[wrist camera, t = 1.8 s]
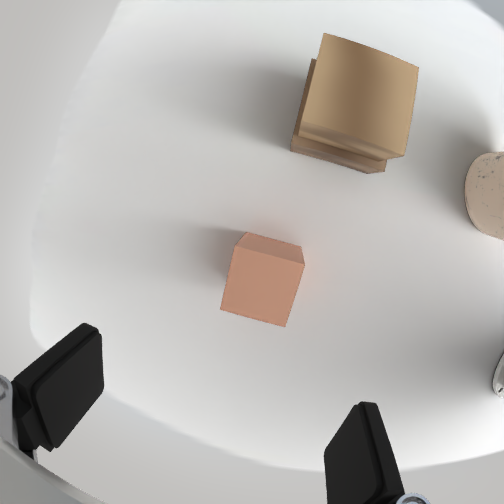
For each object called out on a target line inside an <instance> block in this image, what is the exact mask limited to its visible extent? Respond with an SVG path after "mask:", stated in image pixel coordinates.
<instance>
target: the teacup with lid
mask: <svg viewBox="0 0 504 504" xmlns="http://www.w3.org/2000/svg"><path fill="white" fill-rule="evenodd" d="M465 203H466V207H467V211H468V214H469V216H470V218H471V220H472V222H473V224H474V225H475V226H476V227H477V229H478V230H480V231H481V232H482V233H484V234H486V235H489V236H492V237H495V238H498V239H501V240H504V152H494V153H485V154H482V155H480V156H479V157H477V158H476V159H475V160H474V161H473V163H472V164H471V166H470V168H469V170H468V173H467V176H466V181H465Z"/></svg>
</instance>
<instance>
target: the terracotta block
mask: <svg viewBox="0 0 504 504" xmlns="http://www.w3.org/2000/svg"><path fill="white" fill-rule="evenodd" d="M304 266H305V262H304V258H303V253H302V249H301V247H300V246H296V245H293V244H289V243H285V242H282V241H278V240H274V239H271V238H267V237H263V236H259V235H256V234H252V233H248V232H246V233H245V234H244V235H243V237H242V238H241V239H240V240H239V241H238V243H237V244H236V245H235V247H234V251H233V255H232V260H231V264H230V268H229V272H228V277H227V281H226V285H225V290H224V294H223V298H222V303H221V307H220V310H223V311H227V312H230V313H234V314H237V315H241V316H245V317H248V318H252V319H256V320H259V321H263V322H267V323H271V324H275V325H278V326H282V327H285V326H286V323H287V320H288V317H289V314H290V311H291V308H292V304H293V301H294V298H295V295H296V292H297V289H298V286H299V283H300V279H301V276H302V273H303V270H304Z"/></svg>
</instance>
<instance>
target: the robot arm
mask: <svg viewBox="0 0 504 504" xmlns="http://www.w3.org/2000/svg"><path fill="white" fill-rule="evenodd" d="M103 389H104V377H103V360H102V336H101V334H100V333H99V331H98V329H97V328H95V327H93V326H91V325H89V324H87V323H82V324H81V325H79V326H78V327H77V328H76V329H74V330H73V331H72V332H70V333H69V334H68V335H67V336H65V337H64V338H63V339H62V340H60V341H59V342H58V343H56V344H55V345H54V346H53V347H51V348H50V349H49V350H48V351H46V352H45V353H44V354H43V355H41V356H40V357H39V358H38V359H37V360H36V361H34V362H33V363H32V364H30V365H29V366H28V367H27V368H26V369H24V370H23V371H22V372H21V373H20V374H18V375H17V376H16V377H15V378H14V380H13V381H11V382H10V381H9V380H8V379H7V378H6V377H4V376H2V375H0V504H107V503H105V502H103V501H101V500H99V499H97V498H95V497H93V496H91V495H90V494H88V493H86V492H84V491H82V490H80V489H78V488H76V487H75V486H73V485H72V484H70V483H68V482H66V481H65V480H63V479H61V478H60V477H58V476H57V475H55V474H54V473H52V472H50V471H49V470H47V469H46V468H44V467H43V466H41V465H40V464H38V460H37V453H36V449H37V448H38V447H39V445H40V446H42V447H43V448H45V449H46V450H48V451H49V452H51V451H52V450H53V448H54V447H55V448H58V447H59V446H60V445H61V444H62V443H63V441H64V440H65V439H66V437H67V436H68V435H69V434H70V433H71V431H72V430H73V429H74V427H75V426H76V425H77V424H78V422H79V421H80V420H81V419H82V417H83V416H84V415H85V414H86V412H87V411H88V410H89V408H90V407H91V406H92V405H93V404H94V402H95V401H96V400H97V399H98V397H99V396H100V395H101V394H102V392H103ZM493 389H494V391H495V393H496V394H497V395H498V396H499V397H501V398H504V354H503V356H502V358H501V359H500V362H499V364H498V366H497V368H496V371H495V374H494V379H493ZM324 463H325V475H326V488H327V504H430V502H429V501H428V500H427V499H426V498H425V497H424V496H422V495H420V494H417V493H409V494H405V492H404V488H403V484H402V481H401V477H400V474H399V470H398V467H397V464H396V460H395V457H394V454H393V451H392V447H391V444H390V441H389V439H388V436H387V433H386V430H385V427H384V424H383V421H382V418H381V415H380V412H379V409H378V406H377V404H376V403H371V402H360V403H359V404H358V405H354V406H353V408H352V409H351V411H350V413H349V414H348V416H347V417H346V419H345V420H344V422H343V424H342V425H341V427H340V428H339V430H338V431H337V433H336V434H335V436H334V437H333V439H332V440H331V441H330V443H329V444H328V446H327V447H326V449H325V452H324Z"/></svg>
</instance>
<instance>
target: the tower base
mask: <svg viewBox="0 0 504 504" xmlns="http://www.w3.org/2000/svg"><path fill="white" fill-rule="evenodd" d="M316 62H317V60H316V59H312V60H311V64H310V68H309V72H308V76H307V80H306V84H305V88H304V93H303V97H302V101H301V105H300V109H299V113H298V117H297V121H296V125H295V129H294V133H293V137H292V141H291V149H290V151H292V152H296V153H300V154H304V155H307V156H311V157H315V158H318V159H322V160H325V161H328V162H332V163H335V164H338V165H342V166H345V167H348V168H351V169H354V170H357V171H360V172H363V173H366V174H368V173H377V172H384V171H385V167H386V162H387V160H383V161H379V162H378V161H375V160H372V159H369V158H367V157H364V156H361V155H358V154H355V153H352V152H349V151H346V150H343V149H340V148H337V147H334V146H331V145H328V144H324V143H321V142H318V141H314V140H311V139H307V138H304V137H300V136H298V134H299V129H300V125H301V120H302V116H303V112H304V109H305V105H306V101H307V97H308V93H309V89H310V85H311V81H312V78H313V74H314V70H315V66H316Z"/></svg>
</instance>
